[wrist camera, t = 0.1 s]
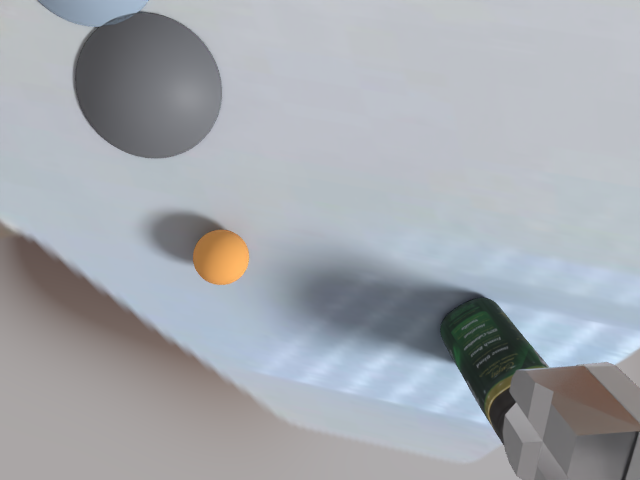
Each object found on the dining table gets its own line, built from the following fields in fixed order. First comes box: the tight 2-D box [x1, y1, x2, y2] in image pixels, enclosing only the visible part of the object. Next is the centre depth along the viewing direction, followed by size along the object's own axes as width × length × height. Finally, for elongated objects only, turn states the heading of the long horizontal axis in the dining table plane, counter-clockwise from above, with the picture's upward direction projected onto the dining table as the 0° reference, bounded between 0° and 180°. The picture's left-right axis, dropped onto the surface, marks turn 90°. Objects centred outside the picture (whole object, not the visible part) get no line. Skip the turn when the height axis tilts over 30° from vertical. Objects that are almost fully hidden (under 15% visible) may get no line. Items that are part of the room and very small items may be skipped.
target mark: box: [75, 13, 222, 158], centre depth 52 cm, size 13×13×1 cm
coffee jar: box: [440, 298, 549, 445], centre depth 58 cm, size 10×8×19 cm
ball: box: [193, 230, 249, 285], centre depth 56 cm, size 6×6×6 cm
